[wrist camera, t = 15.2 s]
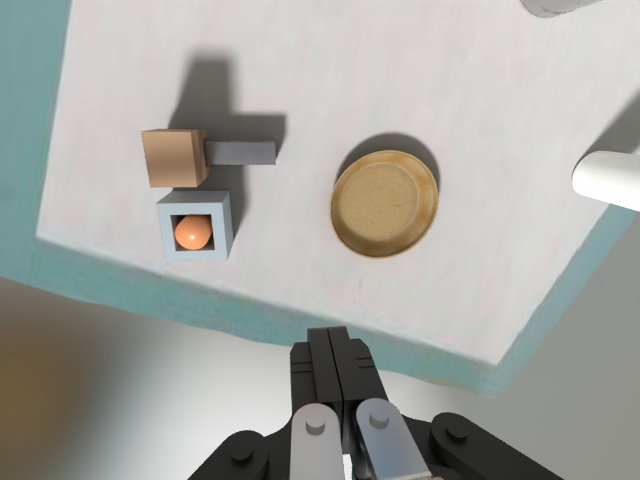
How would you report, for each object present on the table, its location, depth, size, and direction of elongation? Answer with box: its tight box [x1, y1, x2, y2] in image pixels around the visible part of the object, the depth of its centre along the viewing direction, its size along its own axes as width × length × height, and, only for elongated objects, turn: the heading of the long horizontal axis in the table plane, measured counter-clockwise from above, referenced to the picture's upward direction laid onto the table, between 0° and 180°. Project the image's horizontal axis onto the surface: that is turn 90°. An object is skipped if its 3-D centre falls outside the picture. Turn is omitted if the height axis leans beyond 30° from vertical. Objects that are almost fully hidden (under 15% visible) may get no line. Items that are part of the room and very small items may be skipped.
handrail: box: [203, 140, 276, 165], centre depth 38 cm, size 2×13×4 cm, turn 89°
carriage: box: [141, 129, 211, 187], centre depth 35 cm, size 5×4×7 cm
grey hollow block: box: [156, 191, 234, 262], centre depth 40 cm, size 7×7×6 cm
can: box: [572, 151, 640, 211], centre depth 42 cm, size 6×6×12 cm
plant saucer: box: [329, 150, 439, 259], centre depth 44 cm, size 15×15×3 cm
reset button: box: [175, 214, 213, 250], centre depth 40 cm, size 4×4×6 cm
